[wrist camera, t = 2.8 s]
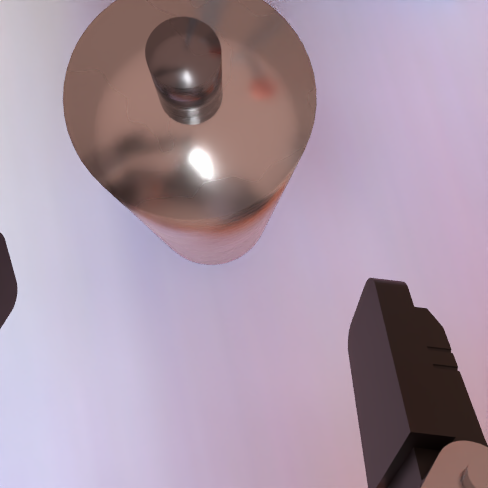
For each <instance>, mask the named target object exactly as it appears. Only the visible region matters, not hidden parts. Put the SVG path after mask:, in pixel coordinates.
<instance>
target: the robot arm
mask: <svg viewBox="0 0 488 488" xmlns="http://www.w3.org/2000/svg"><path fill="white" fill-rule="evenodd" d="M16 298H17V282H16V278H15V274H14V271H13V267H12V263H11V260H10V256H9V252H8V249H7V245H6V241H5V238H4V236H3V235H2V234H1V233H0V328H1V327H2V325H3V324H4V322H5V321H6V319H7V317H8V316H9V314H10V313H11V311H12V309H13V307H14V305H15V302H16ZM348 353H349V360H350V367H351V374H352V380H353V387H354V394H355V401H356V408H357V415H358V421H359V428H360V435H361V442H362V449H363V455H364V462H365V469H366V476H367V483H368V488H488V445H487V443H486V441H485V438H484V436H483V433H482V430H481V428H480V425H479V422H478V419H477V417H476V414H475V411H474V409H473V406H472V403H471V401H470V398H469V395H468V393H467V390H466V387H465V385H464V382H463V379H462V377H461V374H460V371H458V370H457V368H458V366H457V363H456V361H455V358H454V355H453V353H451V347H450V344H449V342H448V339H447V336H446V334H445V331H444V328H443V327H442V326H441V325H440V323H439V322H438V321H437V320H436V319H435V317H434V316H433V315H432V314H431V313H430V312H429V310H428V309H427V308H419V307H414V305H413V302H412V298H411V295H410V292H409V289H408V286H407V285H406V283H405V282H401V281H393V280H384V279H376V278H369V279H368V280H367V282H366V284H365V286H364V289H363V292H362V295H361V297H360V300H359V303H358V306H357V308H356V311H355V314H354V317H353V319H352V322H351V325H350V329H349V336H348Z"/></svg>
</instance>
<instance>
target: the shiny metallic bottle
mask: <svg viewBox="0 0 488 488" xmlns="http://www.w3.org/2000/svg"><path fill="white" fill-rule="evenodd" d="M63 105H64V116H65V121H66V125H67V129H68V133H69V135H70V138H71V141H72V143H73V146H74V148H75V150H76V152H77V154H78V155H79V157H80V159H81V161H82V162H83V164H84V165H85V166H86V168H87V169H88V170H89V172H90V173H91V174H92V175H93V176H94V177H95V178H96V179H97V180H98V181H99V182H100V184H101V185H102V186H103V187H105V188H106V189H107V190H108V191H109V192H110V193H111V194H112V195H113V196H114V197H116V198H117V199H118V200H119V201H120V202H121V203H122V204H123V205H124V206H125V207H126V208H128V209H129V210H130V211H131V212H132V213H133V214H134V215H135V216H136V217H137V218H139V219H140V220H141V221H142V222H143V223H144V224H145V225H146V226H147V227H148V228H149V229H151V230H152V231H153V232H154V233H155V234H156V235H157V236H158V237H159V238H160V239H162V240H163V241H164V242H165V243H166V244H167V245H168V246H169V247H170V248H171V249H172V250H174V251H175V252H176V253H177V254H179V255H180V256H182V257H184V258H185V259H187V260H190V261H192V262H195V263H199V264H206V265H217V264H223V263H227V262H230V261H233V260H235V259H237V258H239V257H241V256H243V255H244V254H245V253H247V252H248V251H249V250H250V249H251V248H252V247H253V246H254V245H255V244H256V242H257V241H258V240H259V238H260V236H261V235H262V233H263V231H264V229H265V227H266V225H267V223H268V221H269V219H270V217H271V215H272V213H273V211H274V209H275V207H276V205H277V203H278V201H279V199H280V197H281V195H282V193H283V191H284V189H285V187H286V185H287V183H288V181H289V179H290V177H291V175H292V173H293V171H294V170H295V168H296V166H297V164H298V162H299V160H300V158H301V156H302V154H303V152H304V150H305V147H306V145H307V142H308V140H309V138H310V135H311V131H312V128H313V124H314V120H315V111H316V85H315V79H314V73H313V70H312V66H311V63H310V59H309V57H308V55H307V53H306V50H305V48H304V46H303V44H302V42H301V41H300V39H299V37H298V36H297V34H296V32H295V31H294V30H293V29H292V27H291V26H290V25H289V24H288V22H287V21H286V20H285V19H284V18H283V17H282V16H281V15H280V14H279V13H278V12H277V11H276V10H275V9H274V8H272V7H271V6H270V5H268V4H267V3H266V2H264V1H263V0H117V1H115V2H113V3H112V4H111V5H109V6H108V7H107V8H106V9H105V10H104V11H102V12H101V13H100V14H99V15H98V16H97V17H96V18H95V19H94V20H93V22H92V23H91V24H90V25H89V26H88V27H87V29H86V30H85V32H84V33H83V35H82V36H81V38H80V39H79V41H78V43H77V45H76V47H75V49H74V51H73V53H72V56H71V58H70V61H69V64H68V67H67V71H66V76H65V81H64V92H63Z"/></svg>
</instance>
